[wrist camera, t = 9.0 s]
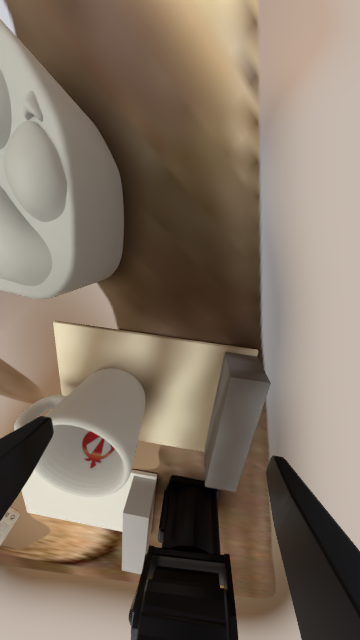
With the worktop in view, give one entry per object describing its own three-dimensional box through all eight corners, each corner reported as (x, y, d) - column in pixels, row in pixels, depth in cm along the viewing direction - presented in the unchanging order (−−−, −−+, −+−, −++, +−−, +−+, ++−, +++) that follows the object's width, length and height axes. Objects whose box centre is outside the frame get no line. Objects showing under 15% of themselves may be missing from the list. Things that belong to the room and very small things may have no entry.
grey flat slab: (157, 474, 27) (149, 515, 23) (151, 533, 32) (143, 576, 28) (13, 447, 28) (-19, 482, 24) (29, 509, 33) (4, 547, 29)
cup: (63, 410, 24) (1, 484, 17) (53, 350, 21) (-28, 407, 14) (153, 422, 23) (131, 506, 16) (155, 362, 20) (128, 429, 13)
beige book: (257, 349, 19) (272, 377, 15) (228, 453, 24) (234, 495, 20) (56, 320, 20) (19, 339, 16) (67, 425, 25) (41, 460, 21)
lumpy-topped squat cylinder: (19, 274, 19) (-112, 294, 11) (-18, 93, 15) (-281, -89, 7) (126, 283, 19) (67, 312, 11) (121, 96, 14) (11, -106, 6)
